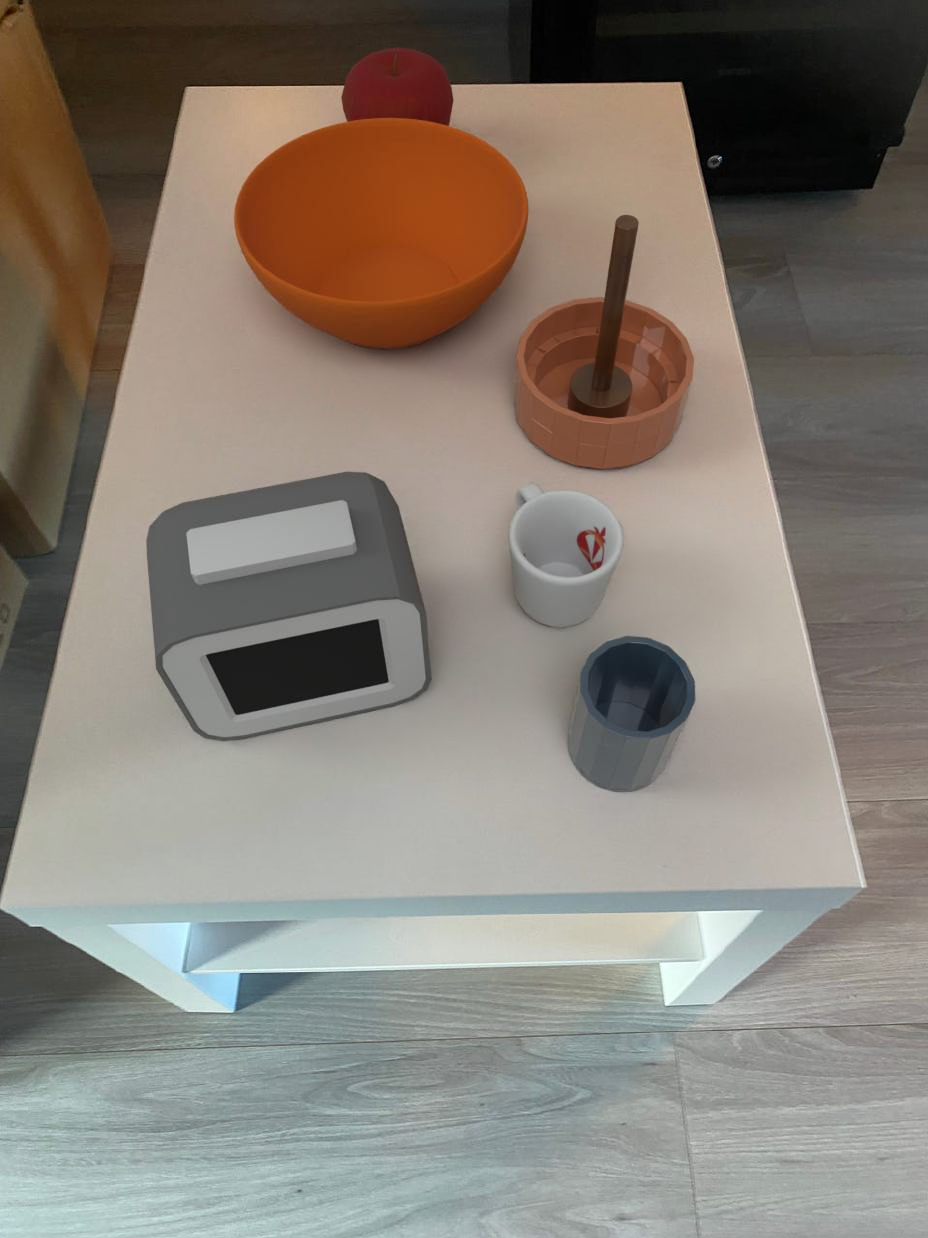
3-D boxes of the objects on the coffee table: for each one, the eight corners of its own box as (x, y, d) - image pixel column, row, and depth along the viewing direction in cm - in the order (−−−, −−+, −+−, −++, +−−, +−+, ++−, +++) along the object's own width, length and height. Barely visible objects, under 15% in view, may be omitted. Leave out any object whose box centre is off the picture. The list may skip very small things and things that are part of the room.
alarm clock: (203, 747, 66) (135, 635, 53) (189, 612, 72) (124, 480, 58) (432, 697, 68) (423, 577, 55) (401, 570, 74) (385, 432, 60)
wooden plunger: (637, 395, 82) (676, 211, 67) (613, 435, 80) (647, 254, 64) (582, 375, 83) (607, 189, 68) (557, 414, 81) (577, 231, 66)
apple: (447, 132, 103) (445, 18, 93) (461, 193, 97) (459, 79, 87) (346, 141, 102) (332, 27, 92) (354, 203, 97) (340, 89, 87)
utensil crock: (684, 725, 67) (711, 664, 59) (646, 810, 63) (669, 757, 56) (592, 683, 68) (607, 619, 61) (551, 764, 65) (561, 707, 57)
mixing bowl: (703, 383, 83) (718, 330, 78) (641, 496, 77) (653, 447, 72) (557, 331, 87) (562, 277, 82) (486, 435, 81) (487, 384, 75)
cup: (473, 546, 75) (473, 481, 68) (564, 513, 76) (573, 446, 69) (532, 656, 70) (539, 598, 63) (628, 619, 71) (645, 558, 64)
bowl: (493, 415, 82) (495, 324, 73) (217, 370, 85) (188, 278, 76) (545, 230, 94) (552, 134, 86) (303, 197, 97) (287, 101, 89)
